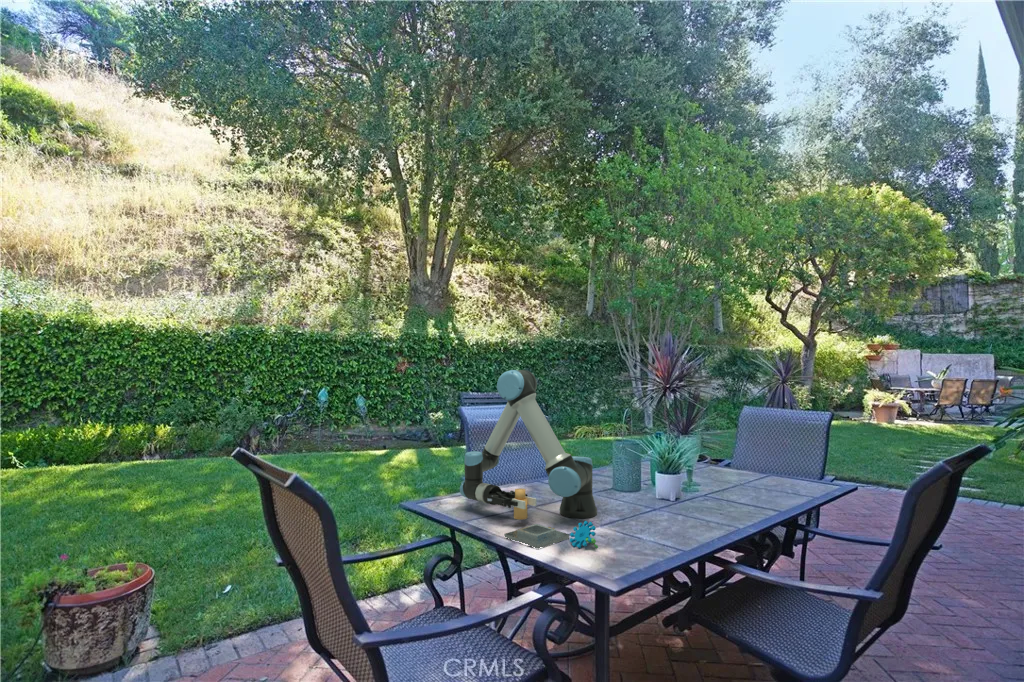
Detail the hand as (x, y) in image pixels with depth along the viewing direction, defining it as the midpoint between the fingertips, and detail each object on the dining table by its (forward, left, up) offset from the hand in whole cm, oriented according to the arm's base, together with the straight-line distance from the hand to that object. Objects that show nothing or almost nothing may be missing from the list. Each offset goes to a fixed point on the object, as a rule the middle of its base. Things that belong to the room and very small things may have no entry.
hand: (530, 503), depth 201 cm
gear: (+1, +26, -9) cm, 28 cm away
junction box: (+7, +10, -9) cm, 15 cm away
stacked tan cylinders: (0, -5, -6) cm, 8 cm away
